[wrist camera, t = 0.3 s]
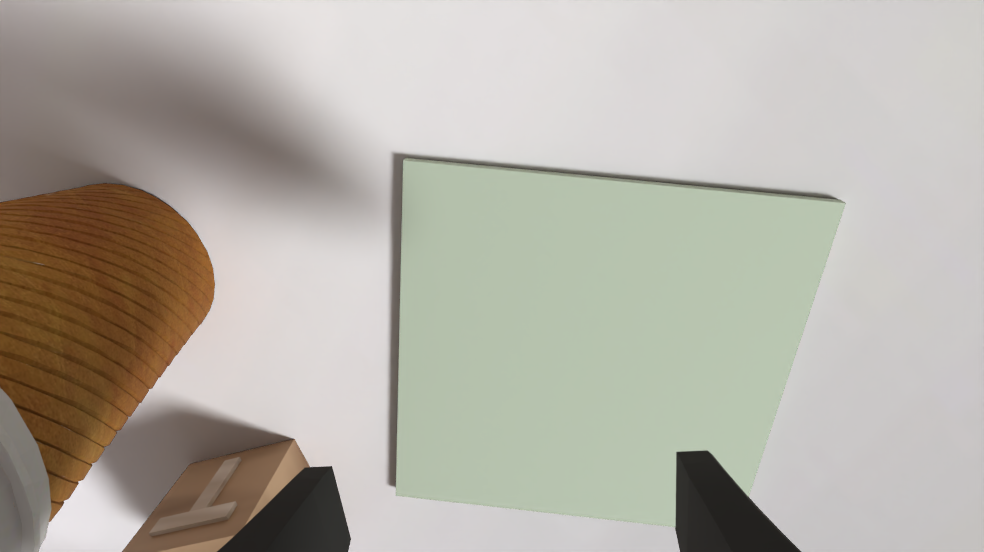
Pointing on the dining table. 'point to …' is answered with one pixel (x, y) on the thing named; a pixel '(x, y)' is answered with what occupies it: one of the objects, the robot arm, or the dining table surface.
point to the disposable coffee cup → (84, 334)
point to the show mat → (593, 334)
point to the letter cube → (218, 499)
